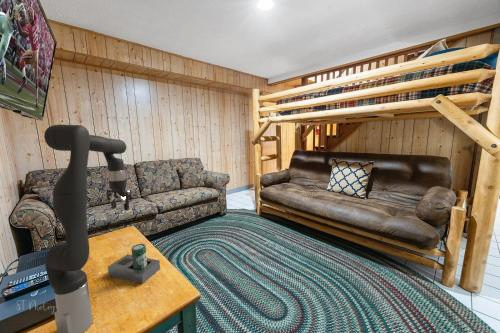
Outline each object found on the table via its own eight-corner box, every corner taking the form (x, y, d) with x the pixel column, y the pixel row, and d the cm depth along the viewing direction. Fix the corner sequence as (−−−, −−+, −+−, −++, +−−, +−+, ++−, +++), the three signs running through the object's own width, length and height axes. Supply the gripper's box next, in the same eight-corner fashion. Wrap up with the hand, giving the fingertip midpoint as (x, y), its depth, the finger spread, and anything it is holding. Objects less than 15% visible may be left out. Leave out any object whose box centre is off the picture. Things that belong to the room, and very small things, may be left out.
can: (141, 278, 106) (139, 250, 104) (131, 276, 107) (128, 249, 105) (150, 270, 112) (147, 244, 110) (140, 269, 113) (137, 243, 111)
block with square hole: (142, 283, 102) (141, 274, 101) (108, 275, 108) (107, 266, 107) (160, 269, 113) (159, 260, 112) (128, 262, 119) (127, 253, 119)
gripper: (99, 179, 107) (103, 210, 109) (121, 181, 102) (124, 213, 104) (113, 177, 114) (116, 205, 116) (134, 178, 109) (136, 208, 112)
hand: (120, 209), depth 110 cm, fingers open, 8 cm apart
